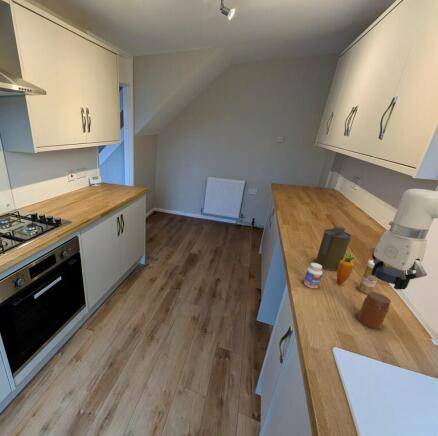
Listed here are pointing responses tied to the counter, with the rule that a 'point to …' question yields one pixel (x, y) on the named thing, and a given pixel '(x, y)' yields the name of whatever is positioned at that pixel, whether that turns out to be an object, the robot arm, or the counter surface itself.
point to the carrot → (345, 268)
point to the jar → (374, 310)
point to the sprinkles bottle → (368, 279)
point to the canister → (333, 248)
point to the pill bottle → (313, 275)
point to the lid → (387, 274)
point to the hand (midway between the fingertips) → (387, 281)
